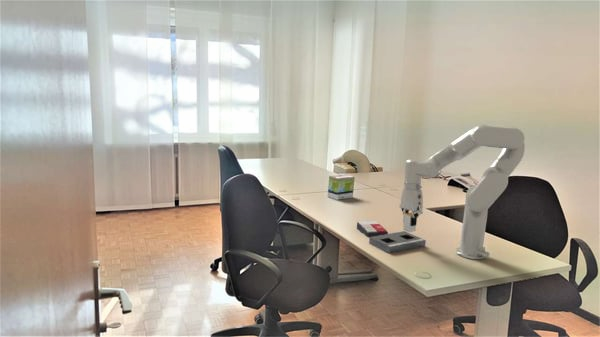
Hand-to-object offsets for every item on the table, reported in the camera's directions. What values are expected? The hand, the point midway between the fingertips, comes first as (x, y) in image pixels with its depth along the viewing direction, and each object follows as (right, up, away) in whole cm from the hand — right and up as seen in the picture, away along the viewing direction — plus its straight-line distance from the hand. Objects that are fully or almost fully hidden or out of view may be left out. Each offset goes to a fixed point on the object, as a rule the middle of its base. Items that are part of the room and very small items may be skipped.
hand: (409, 223), depth 198 cm
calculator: (-15, -7, +17) cm, 24 cm away
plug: (0, -3, +1) cm, 3 cm away
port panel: (-6, -10, -1) cm, 12 cm away
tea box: (-24, +6, +86) cm, 90 cm away
